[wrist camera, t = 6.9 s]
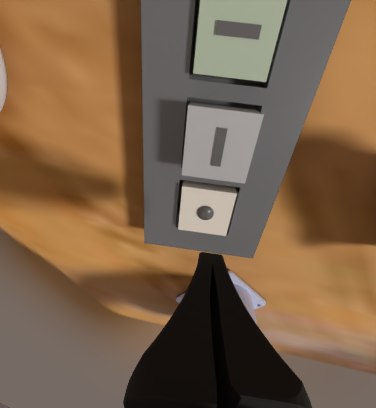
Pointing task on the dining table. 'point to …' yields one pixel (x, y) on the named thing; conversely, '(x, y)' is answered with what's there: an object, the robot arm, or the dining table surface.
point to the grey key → (220, 141)
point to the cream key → (206, 207)
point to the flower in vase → (3, 80)
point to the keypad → (232, 97)
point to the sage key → (237, 38)
